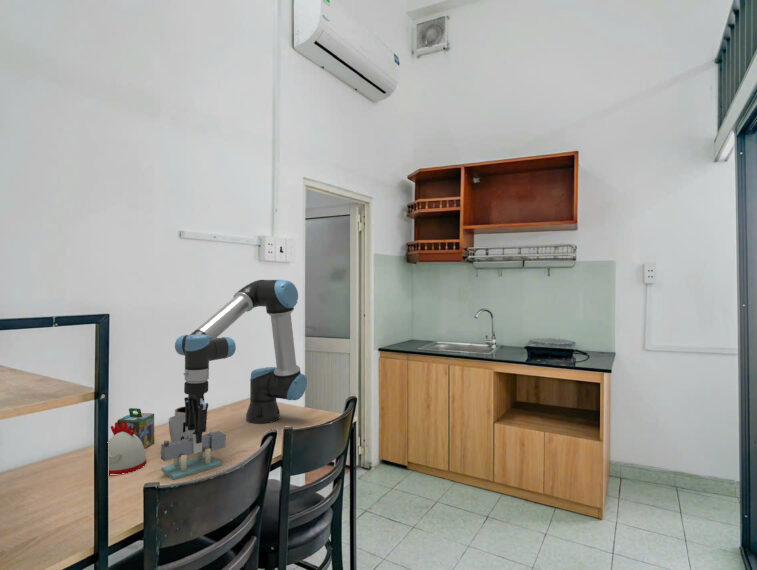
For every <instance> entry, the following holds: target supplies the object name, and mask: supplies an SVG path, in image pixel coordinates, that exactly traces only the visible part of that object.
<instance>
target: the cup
mask: <svg viewBox="0 0 757 570" xmlns="http://www.w3.org/2000/svg"><path fill="white" fill-rule="evenodd" d="M168 431H169V436H170V441H171V442H176V441H180V440H185V439H188V436H189V430H188V427H186V425H185V415H177V416H175V415H172V416H170V417H169V418H168Z"/></svg>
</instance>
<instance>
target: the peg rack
mask: <svg viewBox="0 0 757 570" xmlns="http://www.w3.org/2000/svg"><path fill="white" fill-rule="evenodd" d="M211 452H212V451H211V449H210V448H206V449H205V451H204V452H200V453H197V455H196V456H197V457H194V458H191V459H188V456H187V455H186V454H184V455H181V457H180V458H176V459H173V463H171V464H168V465H164V466H161V471H162V472H163V473H164V474H165V475H167V476H168V477H169V478H170V479H172V481H175V480H177V479H181V478H184V477H188V476H191V475H194V474H199V473H200V472H205V471H207V470H211V469H215V468H218V467H220V466H223V462H222V461H220V460H219V459H217V458H215V457H213V456H212V455H211Z"/></svg>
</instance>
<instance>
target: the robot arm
mask: <svg viewBox="0 0 757 570" xmlns="http://www.w3.org/2000/svg"><path fill="white" fill-rule="evenodd" d="M298 300H299V293H298V289H297V287H296V285H295V284H294V283H293V282H292V281H290V280H286V279H257V280H255V281H253V282H250V283H248V284H247V285H245V286H243V287H242V288H241V289H239V290H238V291H236V293H235V294H234V295H233V297H232V299H231V300H230V301H229V302H227V303H225V305H224V306H223V307H222V308H220V309H219V310H218V311H216V313H213V315H211V316H210V317H209V318H208V319H207V320H206V321H204V322H203V324H201V325H200V326H198V328H196V329H195V330H194V331H193V332H191V333H190V334H189V335H188V334H183V335H181V336H180V335H179V336H178V338H176V340H175V343H174V349H175V352H176V353H177V354H178V355H180V356H184V372H183V376H184V381H185V382H184V387H183V388H184V391H183V393H184V394H185V395H187V397H184V405H185V425H186V427H188V430H189V436H188V439H189V438H193V453H196V454H198V452H202V436H203V433H205V432H207V423H208V422H207V419H208V409H209V403H208V402H207V403H206V402H205V394H206V393H208V392H209V381H208V380H209V378H210V377H209V375H210V361H211V362H212V361H216V360H217V361H219V360H225V359H228V358H231V357H232V356H233V355H234V354H235V353H236V348H237V347H236V343H235V340H234V339H233V338H232V337H229V336H228V337H227V336H224V337H223V336H222V337H219V336H221V335H222V333H224V332H225V331H227V329H228V328H229V327H230V326H232V325H233V324H234V323H235V322H236V321H237V320H238V319H240V317H242V316H243V314H245V313H247V312H248V313H249V312H251V311H252V310H253V309H254V308H256V307H265V310H266V311H265V312H266V314H267V315H269V316H270V323H271V330H272V331H271V332H272V339H273V348H274V357H275V364H276V366H269V367H260V368H256V369H253V370H252V371H251V373H250V379H249V381H250V392H249V393H250V394H249V395H250V399H249V405H248V408H247V410H246V413H245V421H247V422H248V423H252V424H267V423H266V422H269V423H271V422H270V421H274V420H276V419H278V418H279V417H281V413H280V409H279V405H278V403H277V399H281V400H287V401H298V400H300V399H301V398H302V397H303V396H304V394H305V392H306V390H307V387H308V380H307V376H306V375H305V374H304V373H301V367H300V366H299V365H297V359H296V350H295V341H294V339H295V338H294V332H293V323H292V321H293V320H292V313H293V311H295V306H296V305H297V304H298ZM279 419H280V418H279ZM279 419H278V420H279ZM276 421H277V420H276ZM274 422H275V421H274Z"/></svg>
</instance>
